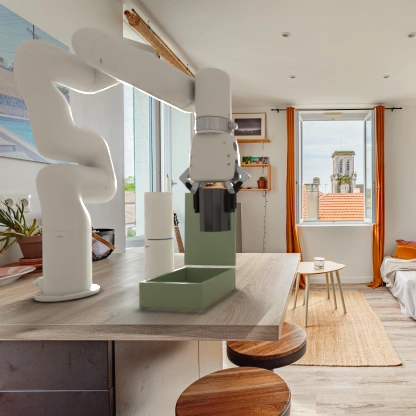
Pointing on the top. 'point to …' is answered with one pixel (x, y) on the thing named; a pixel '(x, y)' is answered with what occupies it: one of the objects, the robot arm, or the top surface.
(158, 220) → the cylindrical container
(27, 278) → the top surface
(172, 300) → the open green box
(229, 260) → the lid
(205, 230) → the cup
